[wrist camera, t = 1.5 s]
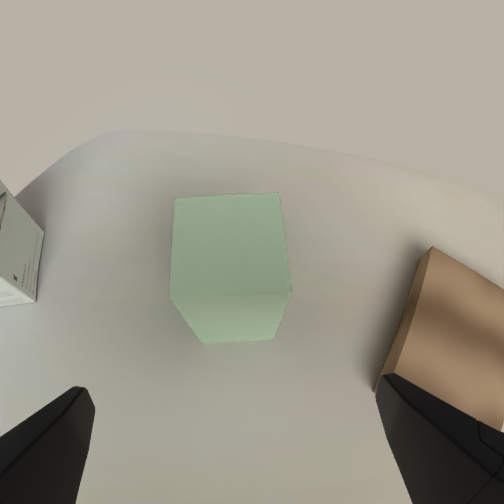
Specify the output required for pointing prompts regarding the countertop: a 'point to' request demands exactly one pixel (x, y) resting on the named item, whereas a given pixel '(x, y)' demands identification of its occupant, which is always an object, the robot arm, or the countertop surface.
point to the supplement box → (18, 251)
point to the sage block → (230, 266)
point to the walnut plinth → (453, 338)
